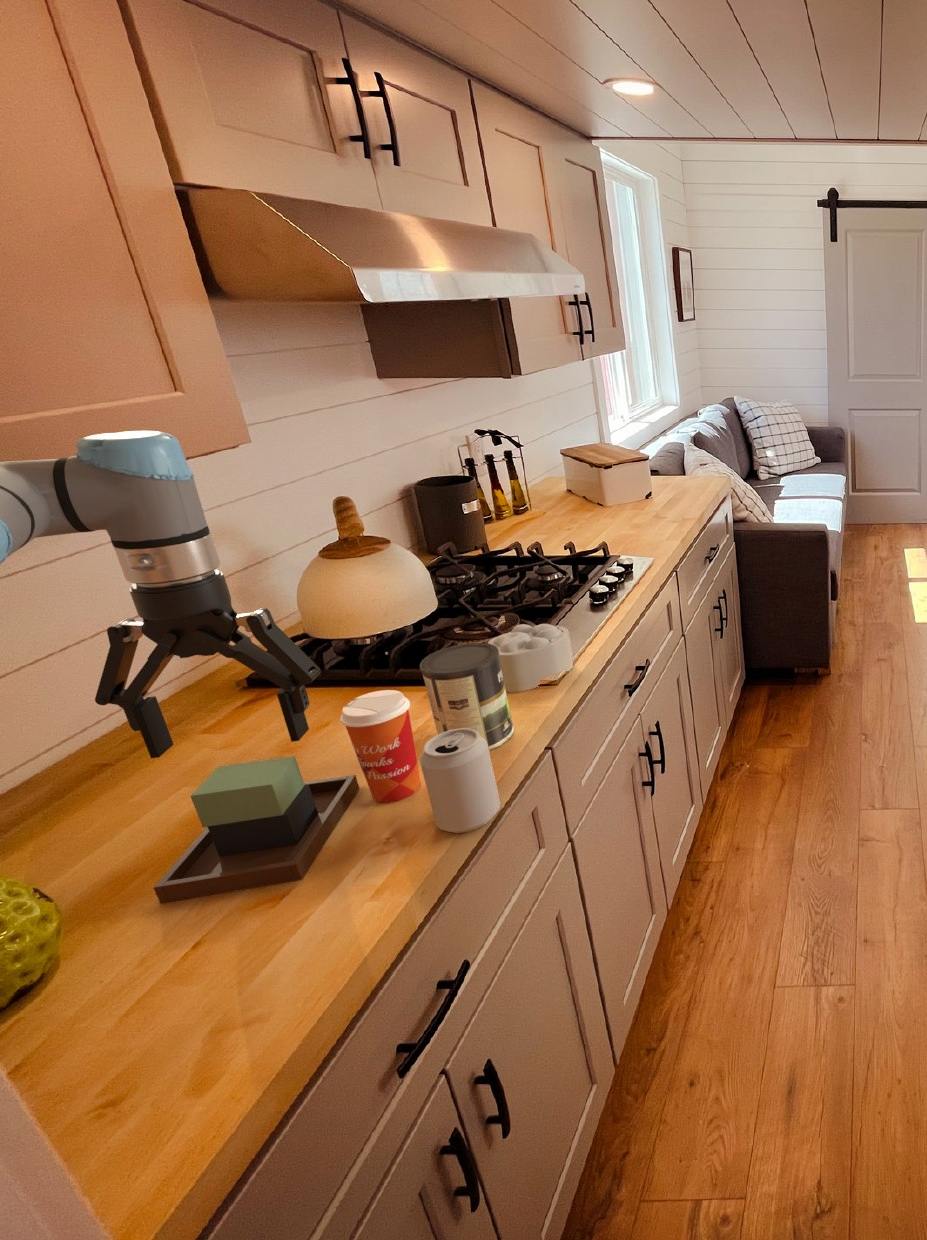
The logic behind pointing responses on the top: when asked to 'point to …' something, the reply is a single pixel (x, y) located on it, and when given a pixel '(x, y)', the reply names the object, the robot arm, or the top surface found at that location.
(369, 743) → the paper cup
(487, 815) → the can
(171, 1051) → the top surface
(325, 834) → the tray
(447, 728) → the coffee can
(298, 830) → the black block
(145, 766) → the top surface
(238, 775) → the pad
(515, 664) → the lumpy-topped squat cylinder
